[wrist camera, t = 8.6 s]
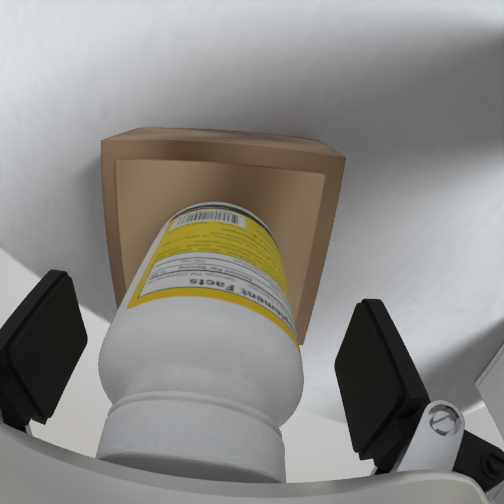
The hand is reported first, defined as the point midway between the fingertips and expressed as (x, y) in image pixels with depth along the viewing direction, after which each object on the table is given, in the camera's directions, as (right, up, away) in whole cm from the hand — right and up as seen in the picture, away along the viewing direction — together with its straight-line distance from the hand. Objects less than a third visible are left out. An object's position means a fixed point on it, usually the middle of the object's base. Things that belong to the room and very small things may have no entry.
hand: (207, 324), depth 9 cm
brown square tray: (0, +4, +9) cm, 10 cm away
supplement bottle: (0, +2, +4) cm, 5 cm away
